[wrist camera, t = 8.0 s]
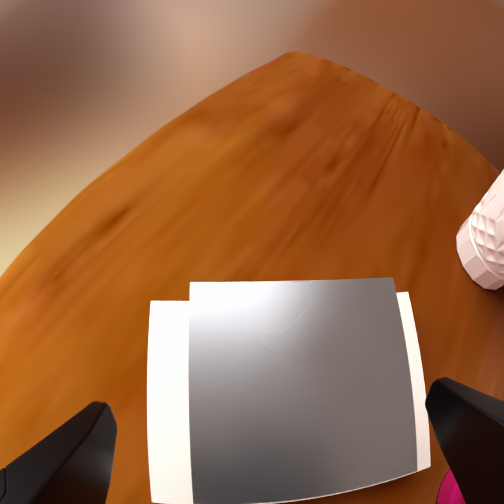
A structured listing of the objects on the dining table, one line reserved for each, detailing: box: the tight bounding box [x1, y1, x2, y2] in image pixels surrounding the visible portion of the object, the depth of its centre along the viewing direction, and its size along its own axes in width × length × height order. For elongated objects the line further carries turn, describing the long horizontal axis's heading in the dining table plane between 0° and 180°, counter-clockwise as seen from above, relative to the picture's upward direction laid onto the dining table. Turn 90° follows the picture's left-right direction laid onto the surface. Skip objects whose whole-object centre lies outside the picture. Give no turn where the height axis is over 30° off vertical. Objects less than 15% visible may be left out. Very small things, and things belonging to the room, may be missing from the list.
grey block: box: [188, 277, 417, 504], centre depth 11 cm, size 4×8×13 cm, turn 92°
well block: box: [147, 292, 430, 504], centre depth 15 cm, size 11×15×2 cm
